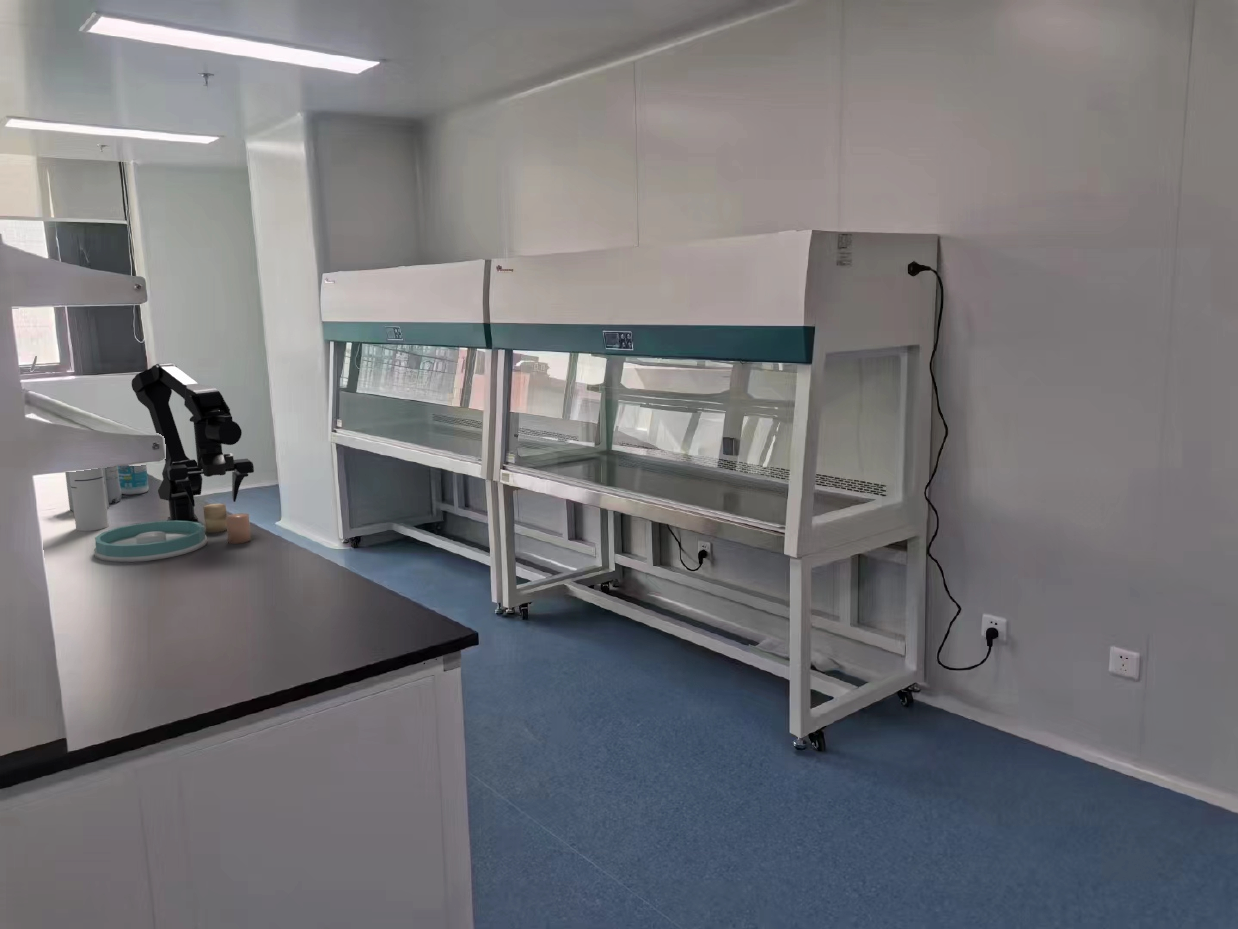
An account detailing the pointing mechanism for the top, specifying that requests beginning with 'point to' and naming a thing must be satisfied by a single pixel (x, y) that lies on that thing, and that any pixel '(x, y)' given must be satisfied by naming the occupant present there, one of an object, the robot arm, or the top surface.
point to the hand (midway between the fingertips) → (214, 503)
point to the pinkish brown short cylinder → (238, 528)
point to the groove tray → (149, 541)
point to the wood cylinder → (215, 517)
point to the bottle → (113, 484)
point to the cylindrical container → (89, 499)
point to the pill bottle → (133, 479)
